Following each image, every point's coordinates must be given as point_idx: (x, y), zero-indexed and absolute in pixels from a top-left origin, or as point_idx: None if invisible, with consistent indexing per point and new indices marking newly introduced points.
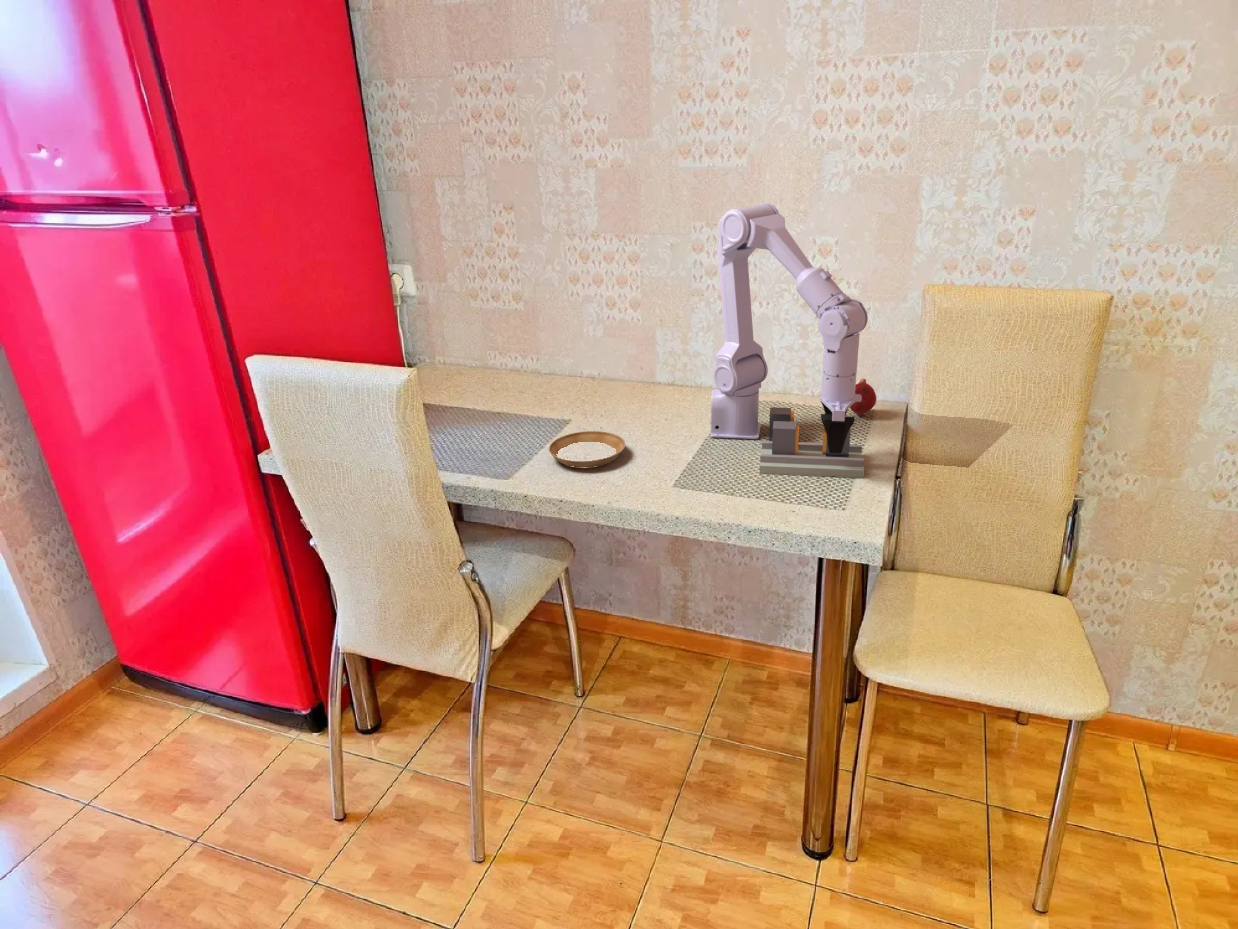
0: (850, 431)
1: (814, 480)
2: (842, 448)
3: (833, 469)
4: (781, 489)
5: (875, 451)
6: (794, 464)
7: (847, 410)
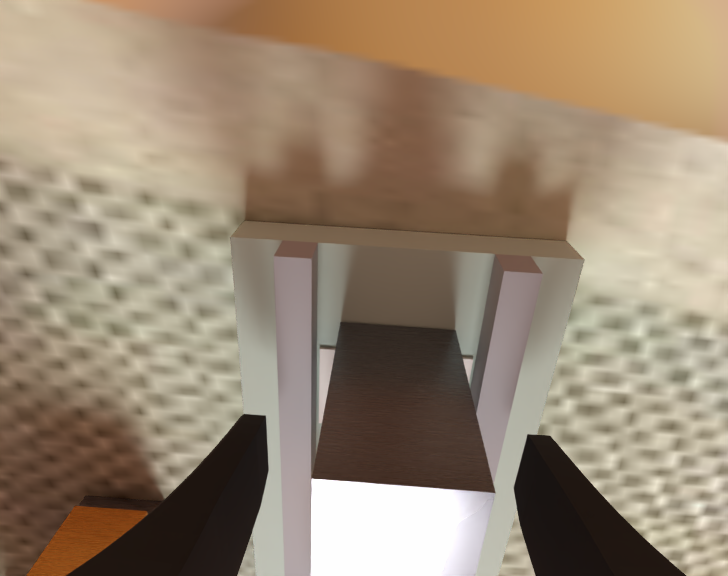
0: (492, 485)
1: (561, 447)
2: (567, 457)
3: (542, 402)
4: None
5: (173, 120)
6: None
7: (180, 570)
